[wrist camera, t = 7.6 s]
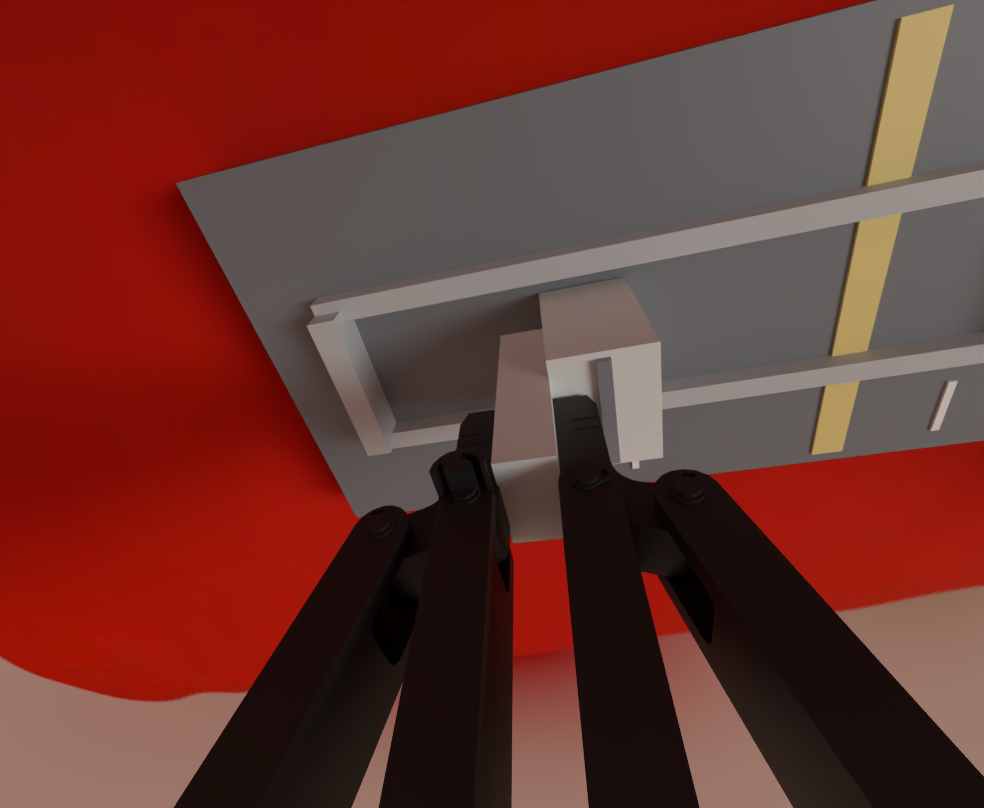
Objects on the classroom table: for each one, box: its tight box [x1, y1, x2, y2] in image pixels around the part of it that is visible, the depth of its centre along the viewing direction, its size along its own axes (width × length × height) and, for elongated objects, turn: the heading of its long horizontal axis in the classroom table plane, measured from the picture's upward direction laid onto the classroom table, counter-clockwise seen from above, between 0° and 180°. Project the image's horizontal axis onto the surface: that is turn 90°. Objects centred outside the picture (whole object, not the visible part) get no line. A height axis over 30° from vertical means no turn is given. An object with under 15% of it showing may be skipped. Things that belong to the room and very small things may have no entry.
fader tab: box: [539, 277, 663, 464], centre depth 15 cm, size 4×3×5 cm
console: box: [176, 0, 984, 517], centre depth 17 cm, size 16×32×4 cm, turn 102°
